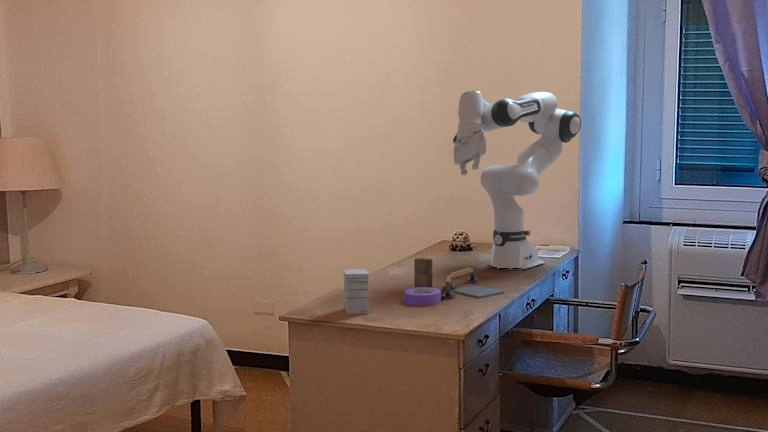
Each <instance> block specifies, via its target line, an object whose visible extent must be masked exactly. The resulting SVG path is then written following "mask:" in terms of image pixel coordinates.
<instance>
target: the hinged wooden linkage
mask: <svg viewBox="0 0 768 432" xmlns="http://www.w3.org/2000/svg"><path fill="white" fill-rule="evenodd" d="M475 270H476V267H475V265H470V266H469V267H466V268H463V269H460V270H455V271H453V272H452V271H451V272H446V280H445V284H444V285H443V286H442V290H445V293H443V294H441V300H454V299H455V298H456V293H451V291H455V290H456V289H457V285H456V284H453V278H455V277H459V276H463V275H466V274H469V277H468V278H466V279H465V282H466V281H468V282H467V283H470V282H476V283H478V282H479V281H478V280H479V277H475V273H476V272H475ZM477 281H478V282H477Z"/></svg>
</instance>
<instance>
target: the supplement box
mask: <svg viewBox="0 0 768 432" xmlns="http://www.w3.org/2000/svg"><path fill="white" fill-rule="evenodd" d="M369 286H370V285H369V271H368V270H367V269H366V268H365V269H364V268H357V269H354V268H353V269H343V295H344V296H343V297H344V300H343V301H344V306H343V307H344V310H345V314H346V315H359V314H360V315H362V314H363V315H364V314H367V315H368V314H369V313H370V302H369V301H370V295H369V294H370V293H369V292H370V291H369V288H370V287H369Z"/></svg>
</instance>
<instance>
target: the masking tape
mask: <svg viewBox="0 0 768 432" xmlns="http://www.w3.org/2000/svg"><path fill="white" fill-rule="evenodd" d="M403 293H404V303H405V304H406V305H410V306H415V307H416V306H418V307H428V306H435V305H439V304H440V303H441V302H442V301H441V300H442V299H441V295H442V294H441V293H442V292H441V290H440V289H439V288H436V287H415V286H414V287H409V288H406V289H405V290H404V292H403Z"/></svg>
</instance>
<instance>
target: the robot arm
mask: <svg viewBox="0 0 768 432" xmlns="http://www.w3.org/2000/svg"><path fill="white" fill-rule="evenodd" d="M457 113H458V114H457V115H458V120H459V121H458V124H457V125H458V126H457V131H456V133H455V135H454V137H453V139H452V144H453V145H454V146H453V162H454V165H455V166H459V169H460V175H461V176H466V175H468V169H467V164H469V163H471V162H472V161H473V164H472V165H471V166H472V167H471V169H472V170H473V171H477V170H479V165H480V161H481V157H482V156H485V155H486V152H487V139H486V135H485V134H484V133H486V132H487V133H488V132H491V131H495V130H499V129H503V128H507V127H511V126H514V125H515V124H517V123H518V121H520V122H522V123H527V125H528V127H529V130H530V131H531V132H533V133H535V134H537V135H541V136H540V137H539V139H537V140H536V141H535V142H533V143H532V144H530V145H529V146H527V147H526V148H525V149H524V150H523V151H521V152H520V153H519V154H518V156H517V159H516V163H517V164H514V165H500V164H496V165H495V164H494V165H490V166H487V167H485V168H484V169H483V170H482V172H481V175H480V185H481V186H482V188H483V189H484V190H485V191H486V192H487V195H488V197H489V198H490V201H491V204H492V207H493V216H494V218H493V219H494V223H493V224H494V230H493V231H492V232H493V233H492V239H493V243H492V251H491V257H490V259H491V260H489V266H490V265H491V266H493V267H497V268H496V269H499V268H529V267H533V266H536V265H539V264H541V263H544V262H545V261H544V260H541V259H539V257H540V256H539V250H538V248H537V247H536V246H534V245H533V244H532V243H531V242H530V241H529V240H528V239H527V236H528V237H530V236H531V230H524V210H523V208H522V207H521V206H520V205H519V203H518V202H517V200H516V198H515V196H518V197H519V196H520V197H523V196H529V195H533V194H535V193H536V192H537V190H538V189H539V186H540V178H539V176H540V175H541V174H542V173H543V172H544V171H546V169H548V168H549V167H550V166H551V165H553V163H554V162H555V161H557V159H558V158H559V157H560V155H561V154H562V152H563V148H564V147H563V143H564V144H566V143H567V144H568V143H569V142H570V141H571V140H572V139H573V138H575V137H576V136H577V134H578V133H579V132H580V131H581V127H582V120H581V116H580V114H578V113H577V112H575V111H572V110H566V109H561V108H558V100H557V98H556V96H555V95H554V94H553V93H552V92H549V91H533V92H530V93H526V94H523V95H520V97H517V98H516V100H514V99H512V98H506V97H505V98H502V99H500V100H497V101H495V102H491V103H489V102H487V101H486V100H485V98H484V97H483V95H482V92H481V91H478V90H470V91H466V92H464V93H462V94H461V95H460V97H459V101H458V112H457ZM491 266H490V267H491ZM493 267H492V268H493ZM533 268H534V267H533Z"/></svg>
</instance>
